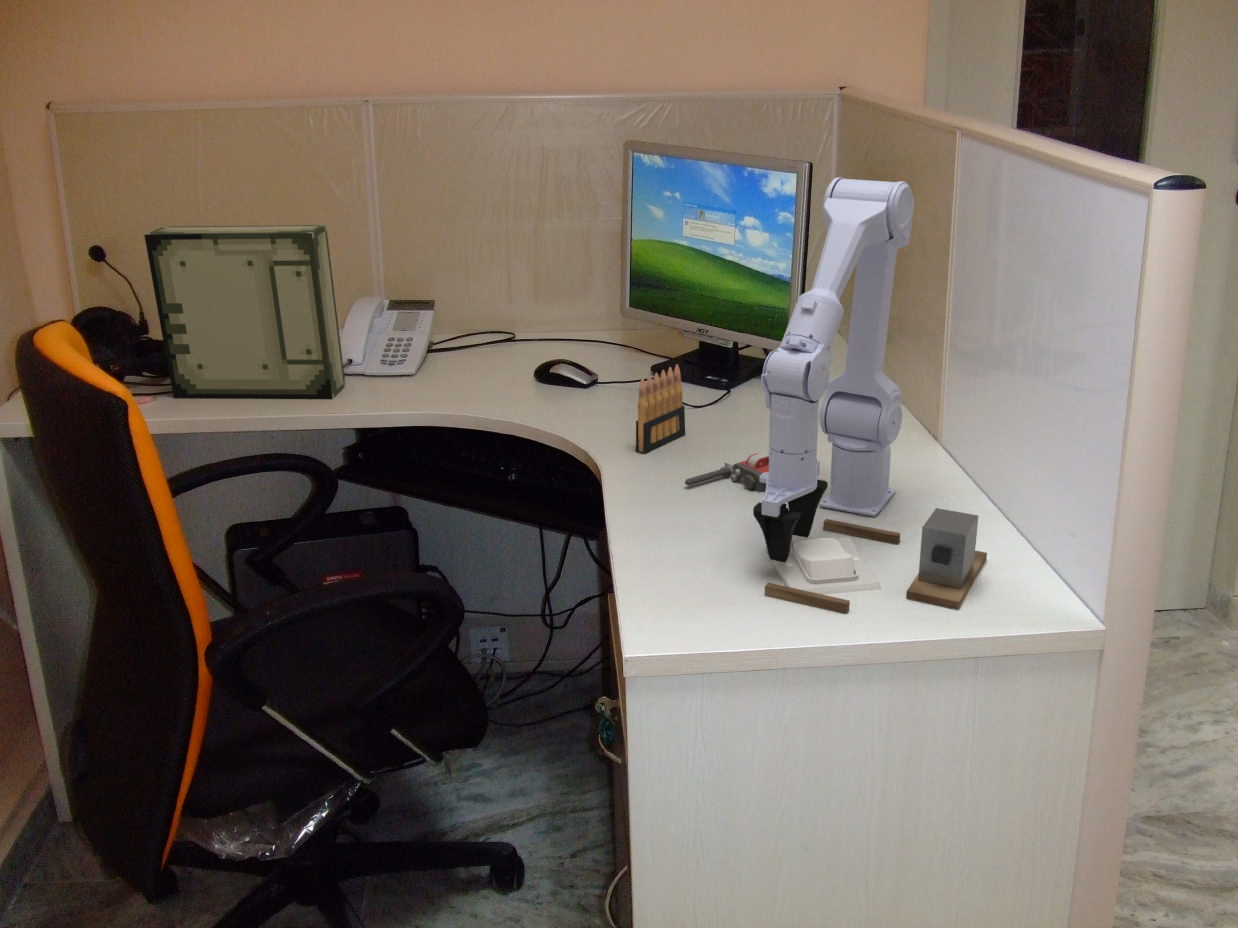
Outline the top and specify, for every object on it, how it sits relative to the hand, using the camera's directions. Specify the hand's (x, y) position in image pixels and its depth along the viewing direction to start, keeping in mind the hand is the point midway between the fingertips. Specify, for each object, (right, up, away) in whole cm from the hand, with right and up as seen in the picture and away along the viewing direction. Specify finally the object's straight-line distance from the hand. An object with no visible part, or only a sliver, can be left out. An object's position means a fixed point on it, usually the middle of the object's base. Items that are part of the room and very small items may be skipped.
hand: (789, 547), depth 144 cm
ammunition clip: (-15, +14, +39) cm, 44 cm away
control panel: (-88, +23, +69) cm, 114 cm away
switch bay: (+5, -2, -2) cm, 6 cm away
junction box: (+17, -3, -7) cm, 19 cm away
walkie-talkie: (-2, +8, +25) cm, 26 cm away
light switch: (+4, -3, -2) cm, 5 cm away
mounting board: (+18, -3, -6) cm, 19 cm away
